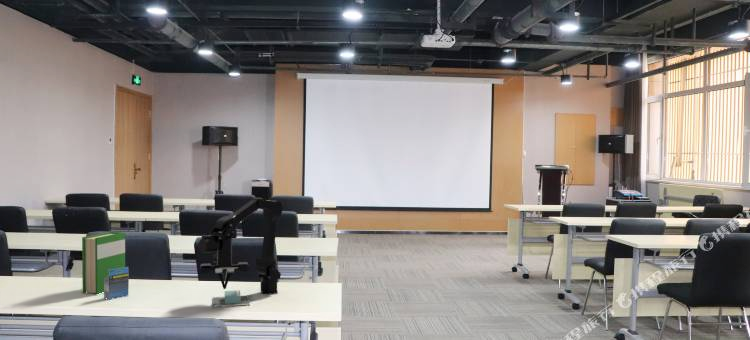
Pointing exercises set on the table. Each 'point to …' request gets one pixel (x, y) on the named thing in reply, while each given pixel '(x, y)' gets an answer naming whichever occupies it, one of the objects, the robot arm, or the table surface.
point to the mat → (221, 302)
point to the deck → (232, 297)
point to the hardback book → (101, 259)
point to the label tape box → (116, 283)
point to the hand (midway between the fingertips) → (224, 288)
